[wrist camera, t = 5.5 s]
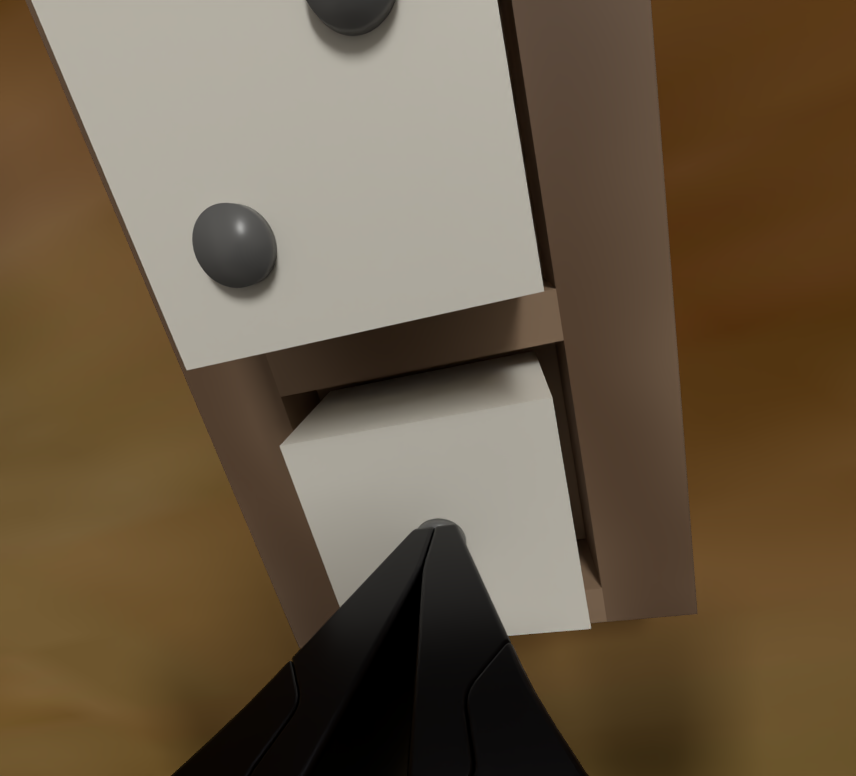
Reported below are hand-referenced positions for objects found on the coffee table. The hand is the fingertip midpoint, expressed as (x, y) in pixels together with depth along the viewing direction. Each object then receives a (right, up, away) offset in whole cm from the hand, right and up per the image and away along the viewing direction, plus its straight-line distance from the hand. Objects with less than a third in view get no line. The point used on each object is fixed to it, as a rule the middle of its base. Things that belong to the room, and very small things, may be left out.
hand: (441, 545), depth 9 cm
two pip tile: (-2, +7, -1) cm, 7 cm away
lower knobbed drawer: (0, +1, +3) cm, 3 cm away
